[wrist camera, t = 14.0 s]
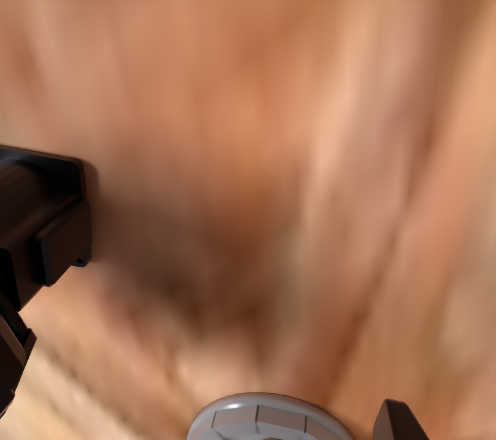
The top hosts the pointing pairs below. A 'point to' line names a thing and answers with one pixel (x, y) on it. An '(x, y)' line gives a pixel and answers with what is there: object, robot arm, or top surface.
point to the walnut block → (271, 438)
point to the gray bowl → (264, 420)
